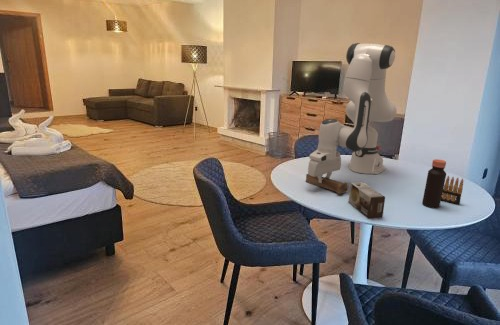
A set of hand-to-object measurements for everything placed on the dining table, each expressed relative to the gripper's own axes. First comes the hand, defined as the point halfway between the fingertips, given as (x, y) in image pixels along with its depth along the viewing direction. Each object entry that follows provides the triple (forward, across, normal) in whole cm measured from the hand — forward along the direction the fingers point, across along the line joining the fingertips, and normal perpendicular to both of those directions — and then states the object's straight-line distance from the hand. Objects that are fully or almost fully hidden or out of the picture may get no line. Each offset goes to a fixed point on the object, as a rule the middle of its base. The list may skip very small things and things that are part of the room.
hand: (323, 181), depth 162 cm
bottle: (+3, -22, +41) cm, 47 cm away
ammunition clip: (+3, -32, +43) cm, 54 cm away
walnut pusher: (+2, 0, 0) cm, 2 cm away
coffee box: (-2, +2, +19) cm, 20 cm away
